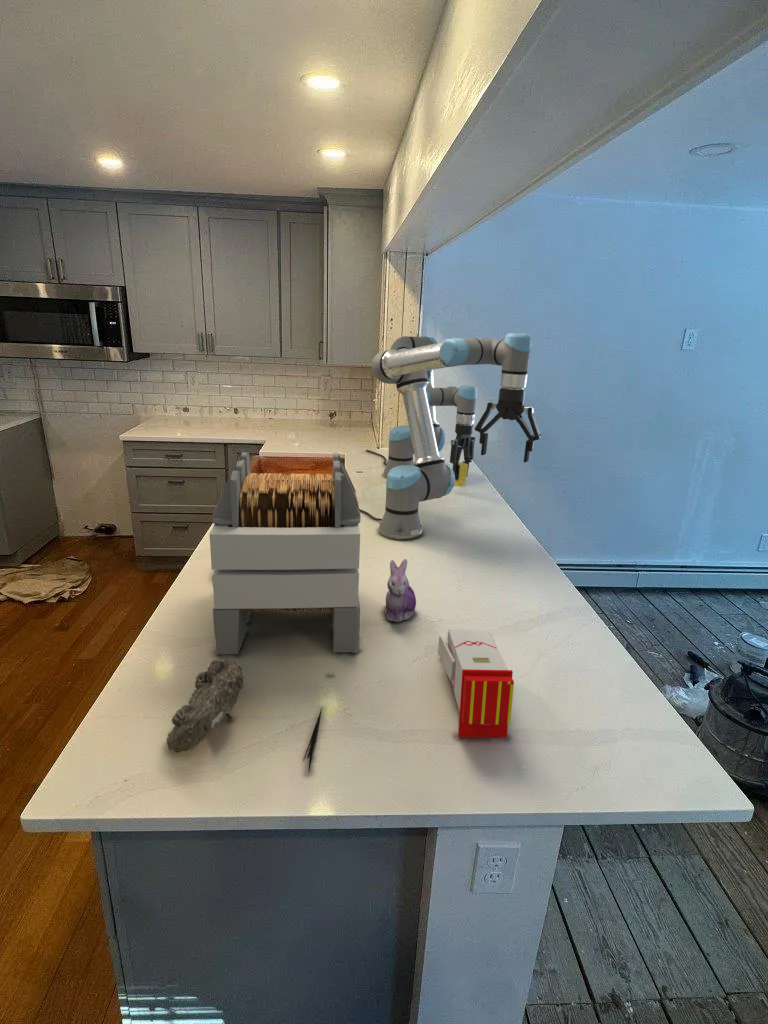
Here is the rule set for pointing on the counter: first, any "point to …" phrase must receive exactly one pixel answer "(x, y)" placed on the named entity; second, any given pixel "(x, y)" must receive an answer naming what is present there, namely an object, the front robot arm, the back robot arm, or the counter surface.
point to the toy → (478, 682)
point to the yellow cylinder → (462, 475)
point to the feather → (313, 740)
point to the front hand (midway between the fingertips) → (504, 457)
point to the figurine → (399, 594)
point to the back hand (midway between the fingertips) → (459, 477)
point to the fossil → (206, 705)
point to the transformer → (285, 551)
